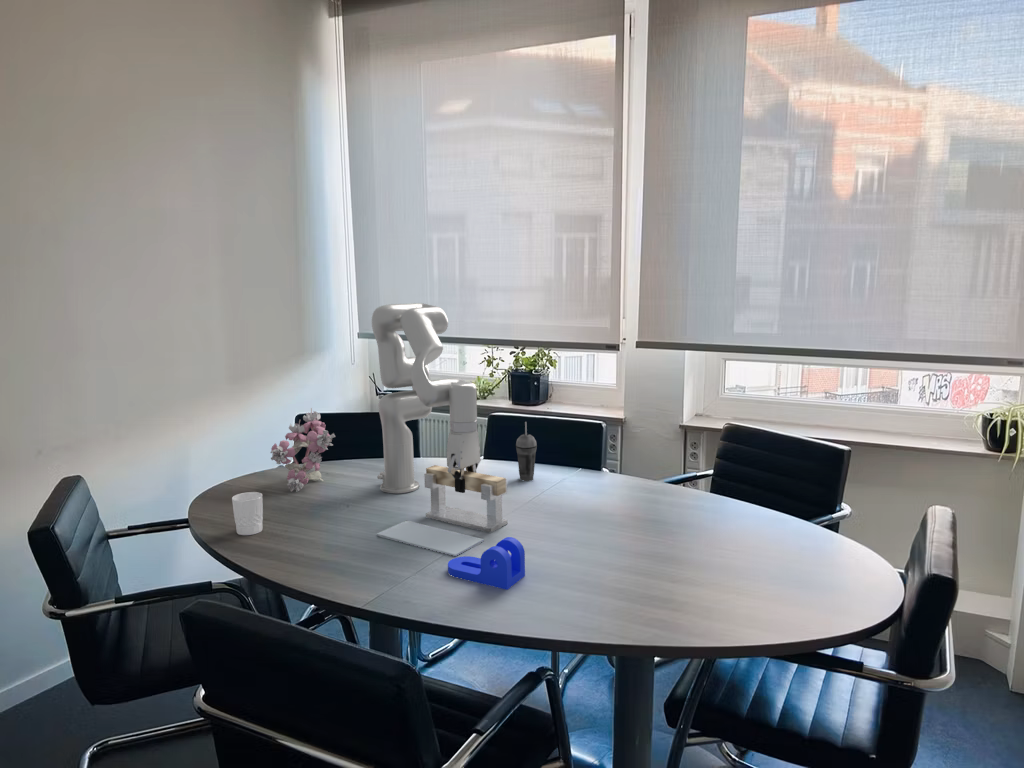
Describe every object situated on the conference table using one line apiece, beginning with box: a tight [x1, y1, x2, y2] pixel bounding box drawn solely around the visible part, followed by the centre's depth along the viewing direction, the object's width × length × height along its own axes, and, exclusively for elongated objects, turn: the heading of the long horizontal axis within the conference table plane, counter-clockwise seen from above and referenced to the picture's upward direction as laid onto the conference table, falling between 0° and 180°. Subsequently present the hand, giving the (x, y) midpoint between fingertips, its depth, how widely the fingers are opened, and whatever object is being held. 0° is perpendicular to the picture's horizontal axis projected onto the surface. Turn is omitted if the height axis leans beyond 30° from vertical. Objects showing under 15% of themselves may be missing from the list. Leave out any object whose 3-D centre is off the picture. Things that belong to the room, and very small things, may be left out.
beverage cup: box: [515, 421, 538, 482], centre depth 244 cm, size 7×7×20 cm
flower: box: [270, 407, 336, 493], centre depth 241 cm, size 20×22×25 cm
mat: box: [376, 520, 485, 557], centre depth 193 cm, size 27×12×1 cm, turn 56°
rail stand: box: [423, 472, 508, 533], centre depth 205 cm, size 23×8×13 cm, turn 56°
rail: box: [425, 464, 507, 496], centre depth 205 cm, size 25×4×4 cm, turn 56°
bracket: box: [447, 536, 526, 591], centre depth 170 cm, size 18×8×9 cm, turn 61°
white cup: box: [231, 491, 264, 536], centre depth 200 cm, size 8×8×10 cm
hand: (465, 489), depth 205 cm, fingers closed on rail, 4 cm apart
